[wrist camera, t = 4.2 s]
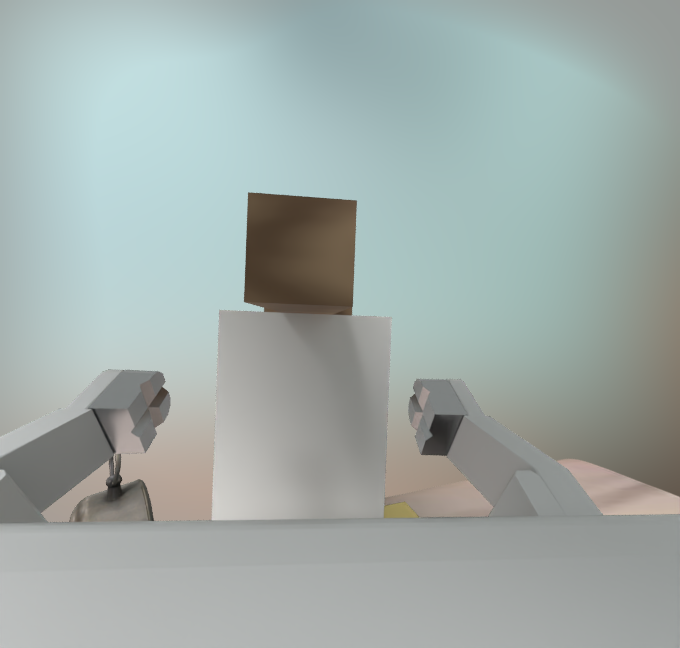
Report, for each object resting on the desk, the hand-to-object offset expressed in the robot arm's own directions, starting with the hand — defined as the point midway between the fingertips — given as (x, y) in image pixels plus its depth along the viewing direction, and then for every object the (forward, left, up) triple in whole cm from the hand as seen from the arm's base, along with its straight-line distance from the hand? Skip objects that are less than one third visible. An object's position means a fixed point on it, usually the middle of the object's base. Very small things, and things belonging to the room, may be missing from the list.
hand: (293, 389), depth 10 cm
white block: (0, +17, -23) cm, 29 cm away
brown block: (0, +11, +3) cm, 11 cm away
